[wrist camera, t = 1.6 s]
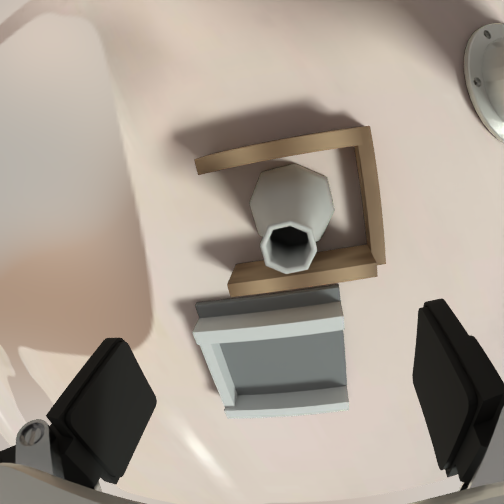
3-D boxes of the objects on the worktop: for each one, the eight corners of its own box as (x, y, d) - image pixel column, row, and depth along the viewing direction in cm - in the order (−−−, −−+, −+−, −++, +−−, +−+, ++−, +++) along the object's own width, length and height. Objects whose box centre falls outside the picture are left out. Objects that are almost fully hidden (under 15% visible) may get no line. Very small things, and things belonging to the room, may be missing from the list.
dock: (338, 284, 29) (342, 301, 26) (347, 398, 34) (349, 417, 32) (196, 302, 32) (187, 319, 29) (235, 407, 37) (230, 425, 34)
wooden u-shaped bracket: (364, 126, 23) (376, 126, 20) (380, 254, 27) (391, 274, 24) (208, 154, 26) (194, 159, 22) (239, 275, 30) (230, 297, 26)
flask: (251, 160, 26) (224, 179, 17) (338, 167, 25) (361, 190, 16) (248, 242, 29) (223, 298, 19) (329, 249, 28) (342, 309, 19)
